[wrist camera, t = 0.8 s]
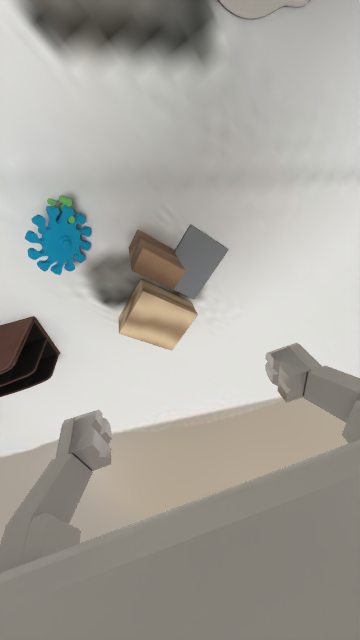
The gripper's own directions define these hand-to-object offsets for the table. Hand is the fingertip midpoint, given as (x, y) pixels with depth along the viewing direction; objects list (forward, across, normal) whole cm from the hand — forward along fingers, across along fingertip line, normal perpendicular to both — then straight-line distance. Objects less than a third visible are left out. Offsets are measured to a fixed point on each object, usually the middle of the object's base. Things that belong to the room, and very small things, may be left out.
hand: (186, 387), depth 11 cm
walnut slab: (+34, -2, +4) cm, 35 cm away
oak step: (+34, +1, +17) cm, 38 cm away
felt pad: (+34, -8, +10) cm, 36 cm away
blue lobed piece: (+34, +11, -2) cm, 36 cm away
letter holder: (+35, +33, +15) cm, 51 cm away
